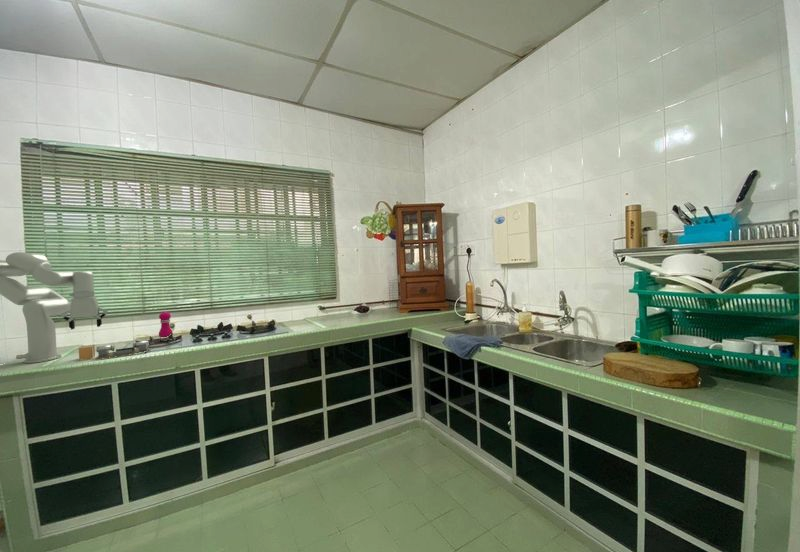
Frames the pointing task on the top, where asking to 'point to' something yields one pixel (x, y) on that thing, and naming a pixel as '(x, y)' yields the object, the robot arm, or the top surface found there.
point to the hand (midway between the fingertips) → (86, 327)
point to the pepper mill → (165, 324)
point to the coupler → (86, 352)
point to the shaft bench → (121, 350)
